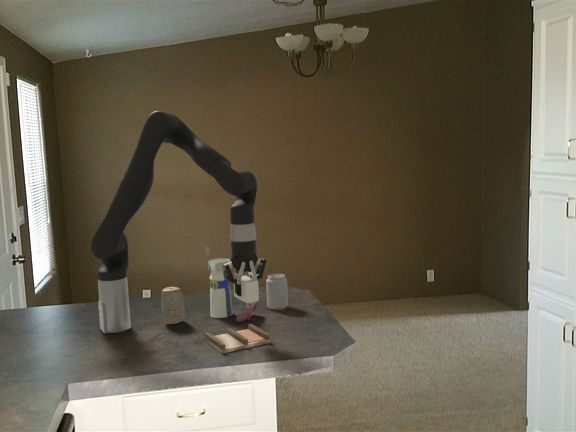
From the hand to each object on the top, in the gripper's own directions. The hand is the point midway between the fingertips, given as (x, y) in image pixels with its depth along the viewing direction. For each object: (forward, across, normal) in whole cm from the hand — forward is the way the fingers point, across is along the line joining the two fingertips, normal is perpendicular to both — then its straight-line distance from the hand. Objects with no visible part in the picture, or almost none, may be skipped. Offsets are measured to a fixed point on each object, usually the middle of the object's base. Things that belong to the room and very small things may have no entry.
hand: (246, 294), depth 177 cm
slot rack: (+14, +4, 0) cm, 15 cm away
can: (+14, -23, -25) cm, 37 cm away
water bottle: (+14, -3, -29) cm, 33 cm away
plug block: (+1, 0, 0) cm, 1 cm away
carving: (+14, +14, -30) cm, 36 cm away
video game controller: (+14, -9, -20) cm, 26 cm away
